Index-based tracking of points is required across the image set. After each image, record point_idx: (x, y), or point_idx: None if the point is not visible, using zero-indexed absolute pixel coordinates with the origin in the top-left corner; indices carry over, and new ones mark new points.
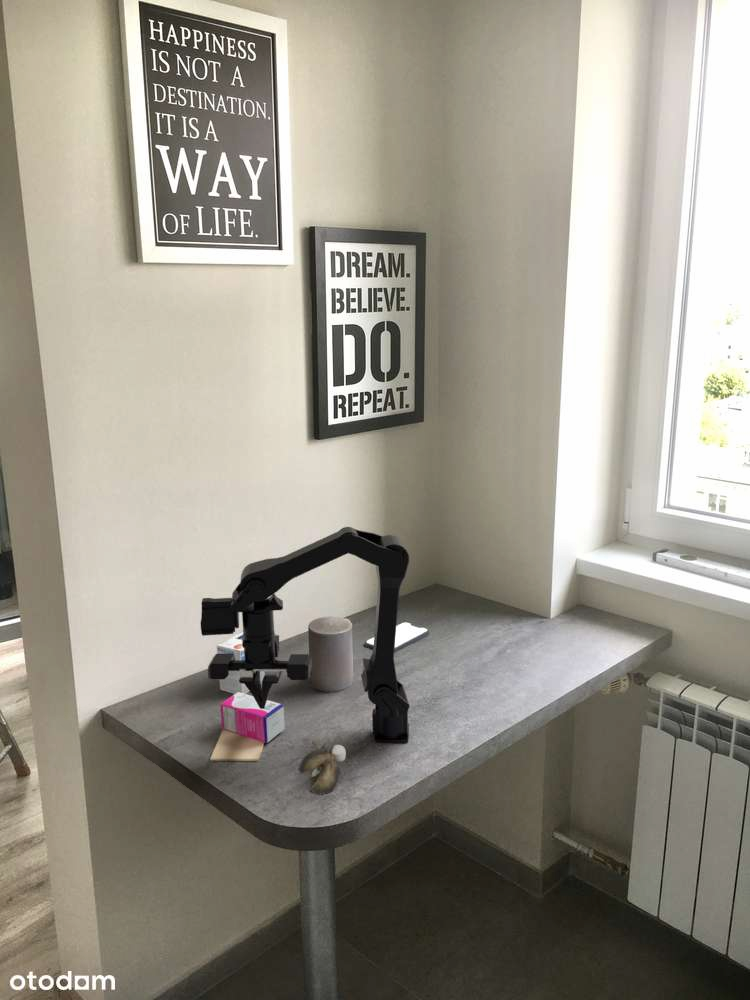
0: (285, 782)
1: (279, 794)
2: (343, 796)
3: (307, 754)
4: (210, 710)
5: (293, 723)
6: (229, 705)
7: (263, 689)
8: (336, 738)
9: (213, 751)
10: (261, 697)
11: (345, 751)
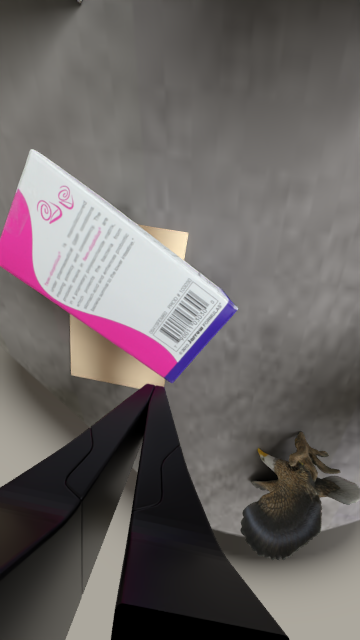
0: (211, 453)
1: (200, 475)
2: None
3: (271, 558)
4: (6, 125)
5: (249, 246)
6: (30, 281)
7: (132, 607)
8: (344, 338)
9: (71, 352)
10: (138, 435)
11: (358, 488)
